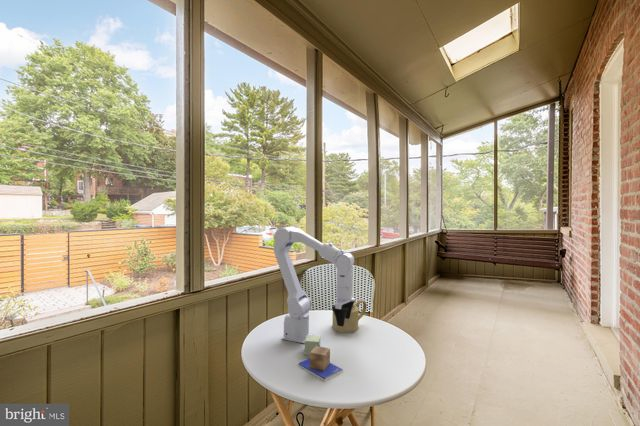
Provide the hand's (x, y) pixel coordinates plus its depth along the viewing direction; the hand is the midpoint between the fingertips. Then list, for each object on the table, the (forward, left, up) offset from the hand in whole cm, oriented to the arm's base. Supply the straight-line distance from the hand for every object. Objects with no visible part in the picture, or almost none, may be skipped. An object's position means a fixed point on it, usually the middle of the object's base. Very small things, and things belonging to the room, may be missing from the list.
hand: (343, 321), depth 119 cm
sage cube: (-9, -8, -10) cm, 15 cm away
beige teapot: (-4, +19, -10) cm, 22 cm away
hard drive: (-2, -17, -10) cm, 20 cm away
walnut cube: (-2, -17, -8) cm, 20 cm away
